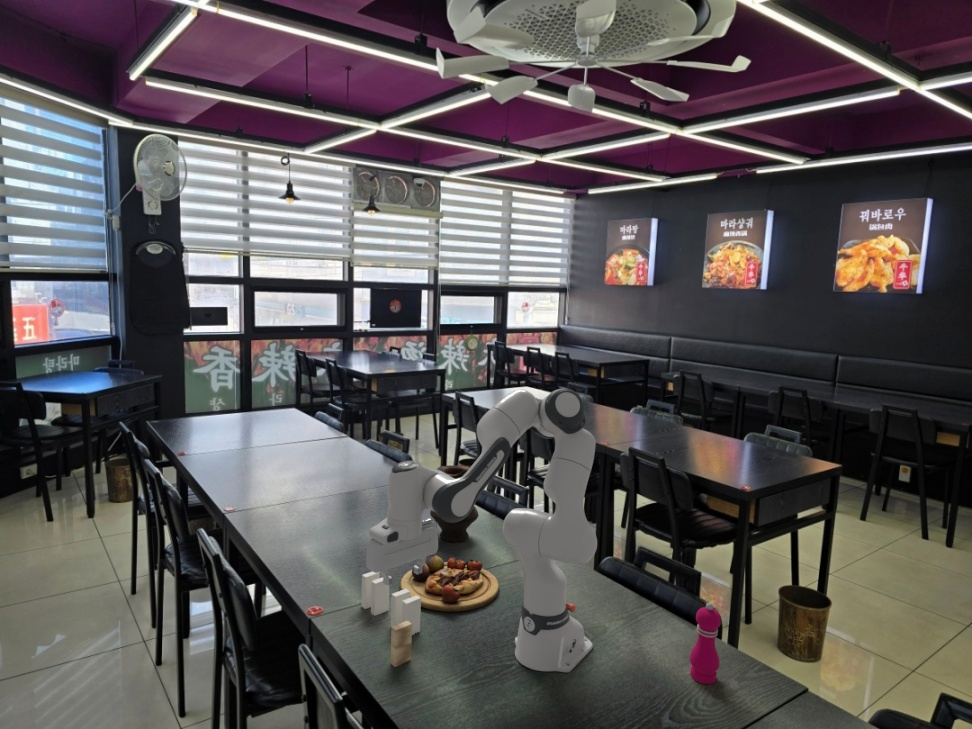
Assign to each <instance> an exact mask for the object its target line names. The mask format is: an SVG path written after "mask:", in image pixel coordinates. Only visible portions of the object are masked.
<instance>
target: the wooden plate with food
mask: <svg viewBox="0 0 972 729" xmlns="http://www.w3.org/2000/svg"><path fill="white" fill-rule="evenodd" d="M414 566H416V564H415V565H414ZM414 566H413V568H412V569H410V570H409V571H407V572H406V573H405V574H404V575H403V577H402V578H401V580H400V583H399V589H400V590H399V591H401V590H404V589H407V590H409V591H410V598H411V597H413V596H416V595H417V596H419V597H420V598H421V608H424V609H428V610H432V611H439V612H453V613H454V612H466V611H471V610H475V609H479V608H481V607H484V606H486V605H488V604H490V603H491V602H492V601H494V600H495V599H496V598H497V596H498V594H499V592H500V583H499V581H498V579H497V578H496V576H495V575H493V574H492V573H491V572H490V571H489V570H486V569H484V568H483V563H482V562H481V561H480V560H478V559H475V560H473V559H471V558H470V559H469V561H468V560H467V561H466V562H465V561H464V559H463V558H462V559H458V560H457V559H456V557H455V556H453V557H450V558H449V559H448V560H447V561H444V559H442V558H441V557H440V556H438V555H434V556H432V557H430V558H429V559H428V560H426V562H425V563H424V565H423V567H422V573H420V574H415V573H414Z"/></svg>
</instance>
